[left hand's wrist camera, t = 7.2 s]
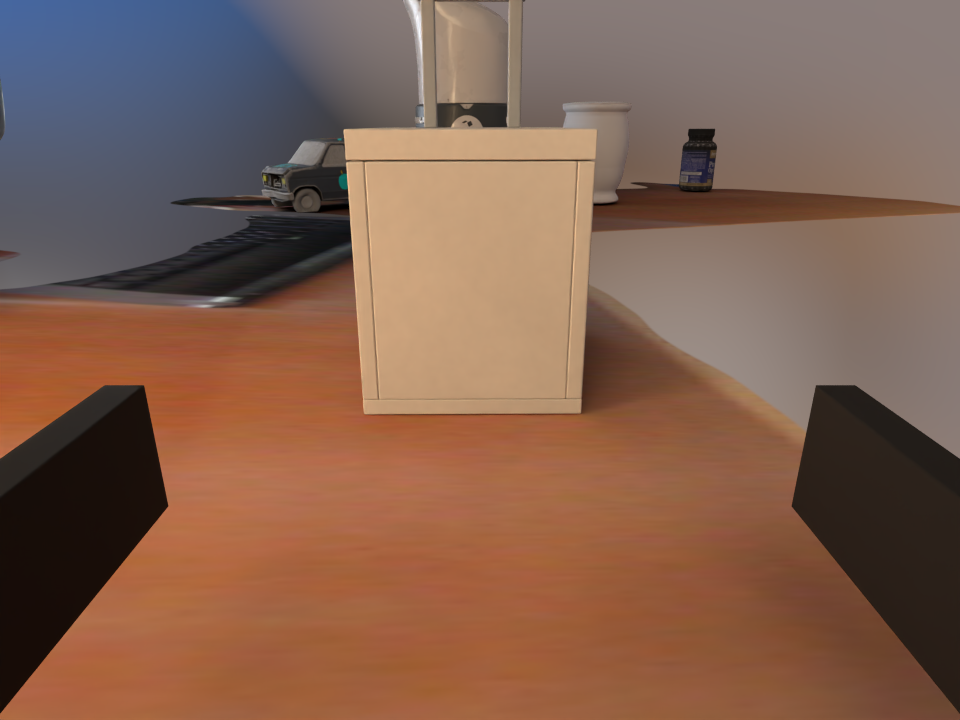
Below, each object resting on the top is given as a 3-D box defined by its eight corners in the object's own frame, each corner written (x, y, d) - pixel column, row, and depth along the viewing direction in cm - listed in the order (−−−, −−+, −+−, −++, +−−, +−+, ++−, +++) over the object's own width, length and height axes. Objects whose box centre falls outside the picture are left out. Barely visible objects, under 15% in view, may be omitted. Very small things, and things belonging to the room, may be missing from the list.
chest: (398, 325, 41) (389, 148, 37) (548, 325, 41) (555, 148, 37) (363, 414, 28) (345, 161, 25) (581, 413, 28) (596, 161, 25)
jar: (566, 205, 99) (571, 101, 93) (552, 198, 108) (556, 103, 103) (633, 204, 100) (641, 101, 95) (613, 197, 109) (620, 103, 104)
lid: (390, 147, 38) (382, -34, 34) (554, 147, 38) (561, -34, 34) (345, 160, 25) (325, -131, 21) (596, 159, 25) (613, -130, 21)
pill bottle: (713, 191, 119) (720, 128, 115) (679, 190, 120) (685, 128, 116) (710, 188, 124) (717, 128, 120) (677, 187, 126) (684, 128, 122)
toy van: (261, 207, 98) (253, 138, 94) (401, 196, 112) (398, 136, 108) (287, 214, 90) (279, 139, 86) (434, 201, 104) (432, 137, 100)
